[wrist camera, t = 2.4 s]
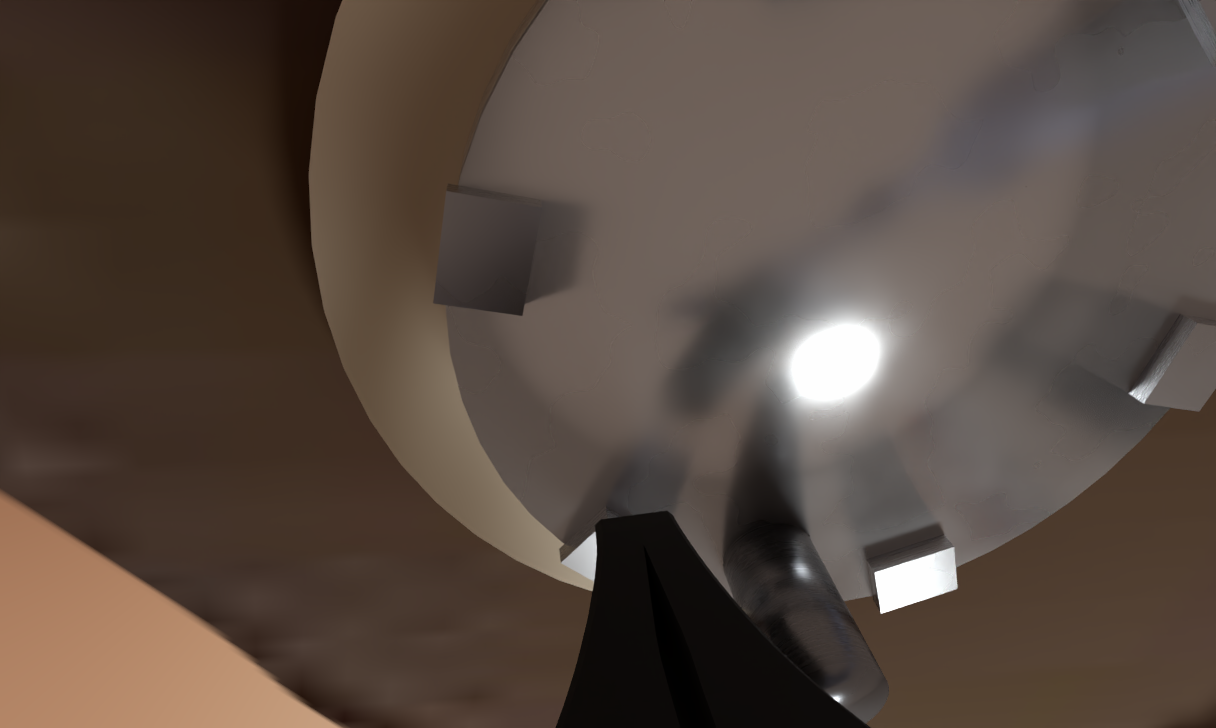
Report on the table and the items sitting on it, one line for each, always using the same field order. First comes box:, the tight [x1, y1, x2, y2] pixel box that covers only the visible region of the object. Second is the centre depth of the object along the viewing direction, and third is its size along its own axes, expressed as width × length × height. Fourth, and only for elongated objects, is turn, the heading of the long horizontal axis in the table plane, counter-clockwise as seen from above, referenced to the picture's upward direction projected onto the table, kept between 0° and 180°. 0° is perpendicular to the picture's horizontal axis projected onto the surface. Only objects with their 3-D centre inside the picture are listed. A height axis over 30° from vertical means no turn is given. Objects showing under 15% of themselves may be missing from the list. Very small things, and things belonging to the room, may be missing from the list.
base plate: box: [309, 0, 594, 591], centre depth 15 cm, size 20×20×2 cm
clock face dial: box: [433, 0, 1216, 723], centre depth 12 cm, size 15×15×6 cm
